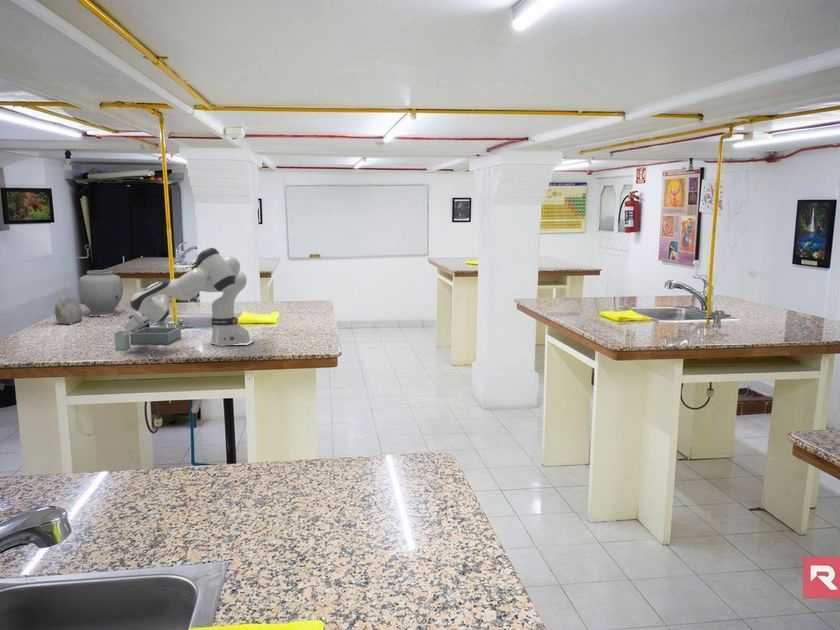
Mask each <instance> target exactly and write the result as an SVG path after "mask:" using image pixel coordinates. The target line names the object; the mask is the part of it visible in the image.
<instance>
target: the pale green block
mask: <svg viewBox="0 0 840 630" xmlns="http://www.w3.org/2000/svg"><path fill="white" fill-rule="evenodd" d="M124 332H125V330H118V331H116V332H114V343H115V344H114V345H115V351H127V350H129V349H131V341H130V332H129V333H128V335H127V336H124V335H123V333H124Z"/></svg>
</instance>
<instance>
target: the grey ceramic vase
mask: <svg viewBox="0 0 840 630" xmlns="http://www.w3.org/2000/svg"><path fill="white" fill-rule="evenodd" d="M77 284H78V285H77V286H78V288H77V289H78V294H79V299H80V300H81V302H82V303H83V305H84V306H85V307H86V308H87V309H89V311H90V312H89V313H88V315H92V316H100V315H111V314H116V311H115V309H116V308H117V306H118V305H119V304H120V302H121V300H122V297H123V292H124V291H123V290H124V289H123V281H122V278H121V276H120V275H117V274H114V272H113V270H110V269H109V270H108V269H95V270H88V271H86V275H85V274H84V275H82V276H81V277H80V278H79V279H78V283H77ZM88 315H87V316H88Z"/></svg>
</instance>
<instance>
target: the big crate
mask: <svg viewBox="0 0 840 630" xmlns="http://www.w3.org/2000/svg"><path fill="white" fill-rule="evenodd" d="M181 339H182V332H181V327H151V326H150V327H145V328H142V329H140V330H137V331H136V332H134V333H133V332H132V333H131V332H129V341H130V346H132V345H136V346H137V345H138V346H169V345H171V344H173V343H175V342H176V341H179V340H181Z"/></svg>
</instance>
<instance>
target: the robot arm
mask: <svg viewBox="0 0 840 630" xmlns="http://www.w3.org/2000/svg"><path fill="white" fill-rule="evenodd" d="M194 265H195V267H196V268H194V269H193V268H192V269H191V270H189V271H187V272H185V273H184V274H183V275H181V276H179V277H178V278H174V279H171V278H170V279H169V278H165V279H163V280H160V281H158V282H156V283H155V284H153V285H151V286H149V287H147V288H145V289H143V290H139V291H137V292H136V293H134V294H133V295H132V296H131V298H130V300H129V303H130V307H131V309H133V310H134V311H135V312H134V313H133V314H132V315H133V317H132V318H131V319H129V320H127V322H126V324H125V325H124V327H123V329H124V331H125V332H124V333H123V335H124V336H127V335H128V333H129V334H130V333H131V331H132V332H133V333H134V332H136V331H137V330H138V329H139V328H141V327H144V326H146V325H147V324H148V323H149V324H151V323H152V322H154V323H162V322H164V321H165V320H166V319H167V318H168V317H169V315H170V308H169V305H170V303H171V302H172V300H173V298H174V299H176V300H178V301H189V300H190V299H193V298H194V297H196V296H197V295H199V294H200V292H203V293H204V292H205V293H222V295H221V296H220V297H218V298H216V299H215V300H214V301H212V303H211V313H212V316H211V328H212V332H211V340H210V343H211V344H210V345H212V344H215V345H214V346H216V345H218V346H217V347H220V346H219V345H234V344H239V343H247V342H249V341H250V339H251V337H250V334H249V331H248V330H247V329H246V328H245V327H244V326H242V325H240V324H239V318H238V317H236V316H235V301H236V298H237V296H238V295H239V294H240V292H241V291H242V290H244V289H245V287H246V286H247V283H248V279H247V276H246V275H245V273H244V272H243V271H241V270H240V269H241V264H240V261H239V260H238V259H237V258H236V257H235V256H231V255H227V256H225V257H222V255H220V252H219V251H218V249H217V248H215V247H209V248H205V249H203V250H202V251H201V252H200V253H199V254H198V255H197V258H196V262H195V264H194Z"/></svg>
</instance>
